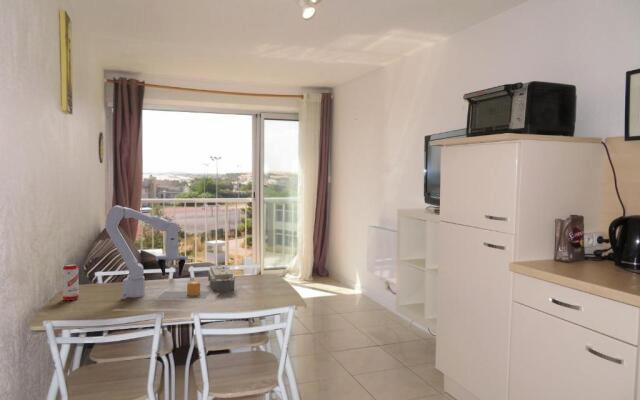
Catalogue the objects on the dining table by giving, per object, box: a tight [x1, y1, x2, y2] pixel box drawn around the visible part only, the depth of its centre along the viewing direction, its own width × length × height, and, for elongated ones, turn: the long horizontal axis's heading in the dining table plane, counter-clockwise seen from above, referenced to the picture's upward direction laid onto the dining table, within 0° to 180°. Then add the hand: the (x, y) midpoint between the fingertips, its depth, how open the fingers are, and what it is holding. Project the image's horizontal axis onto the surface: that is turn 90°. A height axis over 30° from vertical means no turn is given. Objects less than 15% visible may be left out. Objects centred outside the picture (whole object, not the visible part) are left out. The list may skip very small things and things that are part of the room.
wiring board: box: [157, 291, 211, 299], centre depth 211 cm, size 22×12×5 cm, turn 93°
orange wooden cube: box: [186, 281, 201, 296], centre depth 213 cm, size 6×6×6 cm
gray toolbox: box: [207, 264, 236, 293], centre depth 229 cm, size 12×28×10 cm, turn 21°
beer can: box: [62, 263, 80, 301], centre depth 204 cm, size 6×6×16 cm
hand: (171, 275), depth 215 cm, fingers open, 7 cm apart
